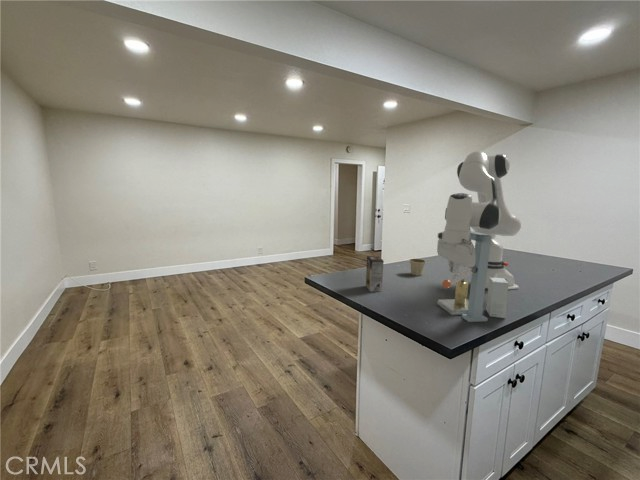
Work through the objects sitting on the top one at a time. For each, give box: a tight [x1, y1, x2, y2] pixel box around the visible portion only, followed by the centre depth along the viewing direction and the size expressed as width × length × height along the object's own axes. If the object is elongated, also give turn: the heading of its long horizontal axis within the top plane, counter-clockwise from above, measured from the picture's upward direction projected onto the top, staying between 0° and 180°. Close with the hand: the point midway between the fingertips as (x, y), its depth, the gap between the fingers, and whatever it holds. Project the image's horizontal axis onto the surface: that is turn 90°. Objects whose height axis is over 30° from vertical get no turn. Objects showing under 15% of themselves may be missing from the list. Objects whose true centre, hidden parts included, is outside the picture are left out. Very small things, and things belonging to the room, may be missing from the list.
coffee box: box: [365, 255, 384, 292], centre depth 151 cm, size 9×6×16 cm
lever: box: [441, 267, 477, 289], centre depth 115 cm, size 14×3×3 cm, turn 96°
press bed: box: [437, 298, 485, 316], centre depth 129 cm, size 14×12×2 cm
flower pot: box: [409, 258, 427, 277], centre depth 180 cm, size 9×9×9 cm
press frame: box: [461, 230, 491, 323], centre depth 121 cm, size 8×15×34 cm, turn 7°
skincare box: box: [485, 277, 509, 319], centre depth 123 cm, size 8×6×15 cm
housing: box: [454, 278, 469, 307], centre depth 128 cm, size 5×5×12 cm
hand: (453, 272), depth 115 cm, fingers closed
